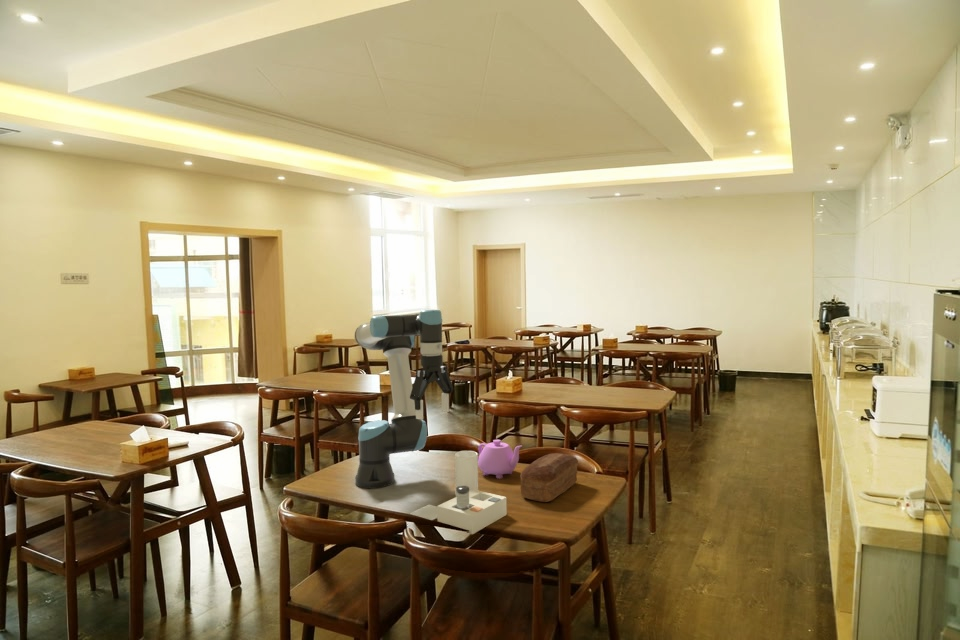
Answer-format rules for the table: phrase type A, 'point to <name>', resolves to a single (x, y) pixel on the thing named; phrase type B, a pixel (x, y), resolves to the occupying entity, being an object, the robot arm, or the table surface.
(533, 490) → the bread
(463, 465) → the cup
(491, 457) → the teapot
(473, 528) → the socket block
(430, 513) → the white flat square plate
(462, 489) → the plug
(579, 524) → the table surface
